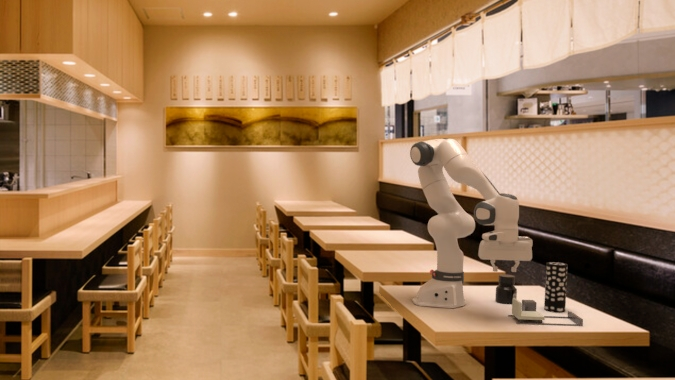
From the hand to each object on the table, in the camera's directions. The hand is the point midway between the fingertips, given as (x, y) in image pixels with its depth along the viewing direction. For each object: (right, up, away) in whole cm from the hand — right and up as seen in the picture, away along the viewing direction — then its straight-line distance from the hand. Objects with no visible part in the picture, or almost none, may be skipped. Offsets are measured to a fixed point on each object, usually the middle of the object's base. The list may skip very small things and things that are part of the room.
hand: (504, 271), depth 249 cm
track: (+15, -20, +1) cm, 25 cm away
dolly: (+9, -20, +1) cm, 22 cm away
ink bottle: (+9, -18, +33) cm, 39 cm away
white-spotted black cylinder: (+26, -19, +20) cm, 38 cm away
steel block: (+13, -19, +13) cm, 26 cm away
